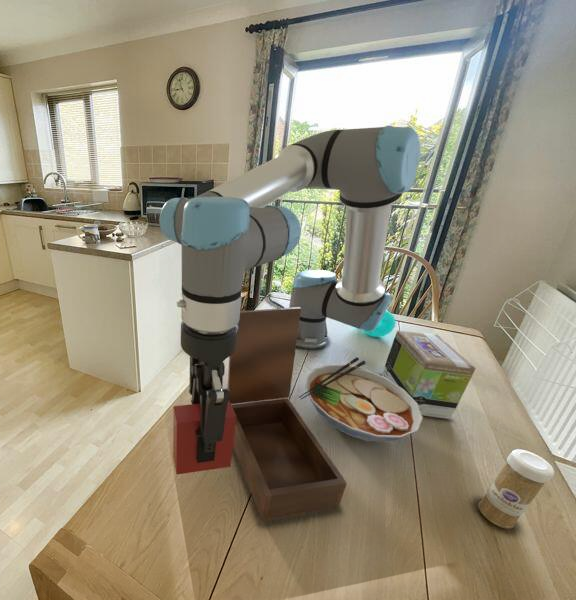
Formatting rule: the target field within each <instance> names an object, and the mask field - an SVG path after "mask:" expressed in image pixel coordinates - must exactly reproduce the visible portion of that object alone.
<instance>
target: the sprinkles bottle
mask: <svg viewBox="0 0 576 600" xmlns="http://www.w3.org/2000/svg"><path fill="white" fill-rule="evenodd" d="M554 475H555V470H554V467H553V466H552V465H551V464H550V463H549V461H547V460H545V459H544V458H543V457H541V456H540V455H537V454H536V453H534V452H531V451H528V450H525V449H517V448H516V449H514V450H512V451H511V452H510V454H509V455H508V457H507V460H506V462H505V464H504V466H503V467H502V468H501V470H500V471H499V472H498V473H497V475H496V477H495V478H494V480H493V481H492V483H491V484H490V486H489V488H488V489H487V491H486V493H485V495H484V496H483V498H482V499H481V500H480V501H479V502H478V504H477V507H478V508H477V509H479V512H480V513H481V515H482V516H483V517H484V518H486V519H487V520H488V521H489V522H490V523H492V524H493V525H495V526H497V527H499V528H503V529H507V530H508V529H512V528H514V526H515V525H516V522H517V521H518V520H519V518H520V517H521V516H522V515H523V514H524V513H525V511H526V510H527V509H528V508H529V506H530V505H531V503H533V501H534V499H535V498H536V497H537V496H538V493H539V492H540V490H541V489H542V488H543V487H544V486H545V484H547V483H549V482H550V481H551V479H552V478H553V476H554Z"/></svg>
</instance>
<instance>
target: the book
mask: <svg viewBox="0 0 576 600" xmlns="http://www.w3.org/2000/svg"><path fill="white" fill-rule="evenodd" d="M231 405H232V404H231V403H230V401H228V403H227V409H226V416H225V424H224V432H223V440H222V441H219V442H216V447H215V460H214V461H209V462H202V463H197V437H196V434H195V430H197V429H198V428H200V403H198V404H192V403H191V404H182V405H181V404H180V405H173V407H172V408H173V409H172V419H173V420H172V443H173V444H172V449H173V450H172V457H173V463H174V468H175V474H176V475H183V474H190V473H198V472H204V471H212V470H218V469H225V468H230V467H231V465H232V457H233V450H234V448H233V441H234V432H235V423H236V415H235V412H234V410H233V408H232V406H231Z"/></svg>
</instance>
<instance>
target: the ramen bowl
mask: <svg viewBox="0 0 576 600" xmlns="http://www.w3.org/2000/svg"><path fill="white" fill-rule="evenodd" d="M359 360H360V358H359V357H357V356H356V357H354V358H353V359H352V360H350V361H349V362H347V363H346V364H327V365H326V364H325V365H322V366H318V367H315V368H313V369H312V370H311V371H310V372H309V373H308V374H307V375H306V377H305V391H306V392H304V393H302V394H301V395H299V396H298V399H300V400H304V399H305V398H307V397H309V400H310V401H311V403H312V406H314V409H315V410H316V412H317V413H318V415H320V417H322V418H323V420H325V421H326V422H327V423H328V424H329V425H330V426H332V427H333V428H335V429H337V430H338V431H340V432H342V433H344V434H346V435H347V436H349V437H353V438H356V439H359V440H362V441H366V442H393V441H396V440H399V439H401V438H404V437H406V436H409V435H411V434H414V433H416V432H417V431H419V429H420V426H421V424H422V421H423V419H424V416H423V415H422V414H421V411H420V409H419V406H418V404H417V402H416V401H415V400H414V399H413V398H412V397H411V396H410V395H409V394H408V393H407V392H406V391H405V390H404V389H402V388H401V387H399V386H398V385H396V384H395V383H393V382H392V381H390V380H389V379H387V378H385V377H383V376H382V375H380V374H378V373H375V372H373V371H371V370H369V369H365V368H360V367H362V366H364V365H366V363H367V361H366V360H362V361H360V362H359ZM356 362H358V363H357V364H355V363H356ZM354 364H355V365H354ZM352 365H354V366H352Z"/></svg>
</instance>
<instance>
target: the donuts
mask: <svg viewBox="0 0 576 600" xmlns="http://www.w3.org/2000/svg"><path fill="white" fill-rule="evenodd" d="M396 323H397V322H396V317H395V316H394V315H393V313H391V312H390V311H389V310H388V309H387V310H386V312H385V314H384V316H383V317H382V319H381V321H380V323H379V324H378V326H377V327H376V329H374V330H373V331H367V330H363V329H362V331H363V332H364V333H365V334H366V335H368V336H370V337H372V338H373V337H374V338H380V337H385V336H387V335H389V334H390V333H391V332H393V330H394V329H395V328H396Z"/></svg>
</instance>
